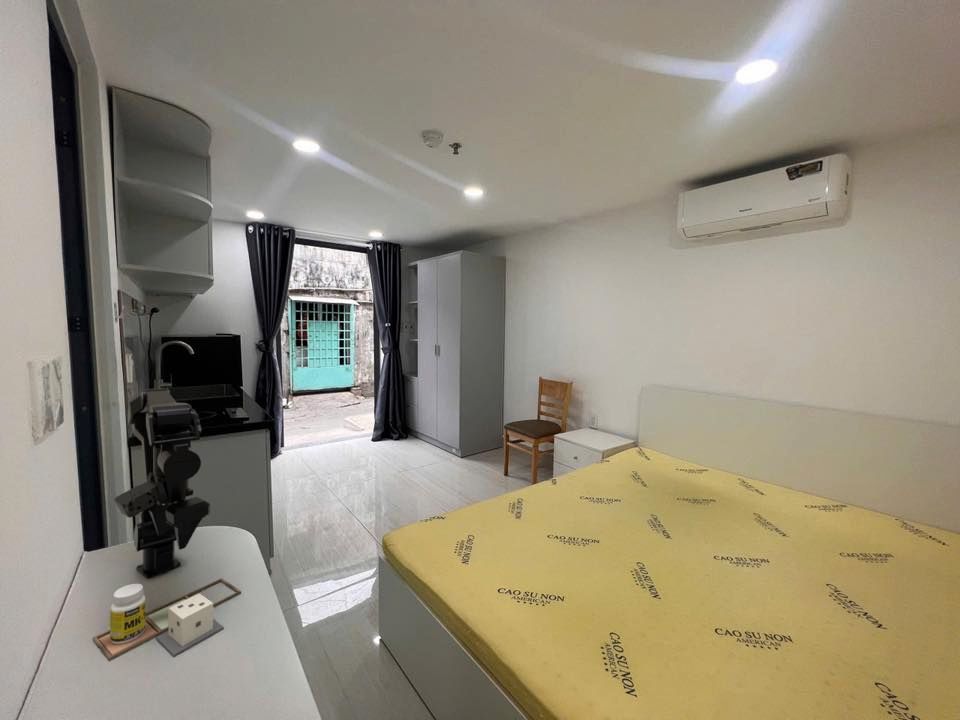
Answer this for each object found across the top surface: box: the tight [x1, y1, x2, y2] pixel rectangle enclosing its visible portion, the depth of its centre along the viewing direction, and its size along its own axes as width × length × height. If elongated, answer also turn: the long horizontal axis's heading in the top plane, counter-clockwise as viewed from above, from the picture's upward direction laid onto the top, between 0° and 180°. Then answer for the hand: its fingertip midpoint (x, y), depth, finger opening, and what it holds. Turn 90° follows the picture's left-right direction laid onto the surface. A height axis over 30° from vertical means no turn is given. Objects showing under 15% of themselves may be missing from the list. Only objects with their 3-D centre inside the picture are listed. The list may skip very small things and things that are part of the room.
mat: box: [155, 618, 225, 658], centre depth 74 cm, size 7×8×1 cm
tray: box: [92, 578, 242, 662], centre depth 78 cm, size 8×21×1 cm, turn 149°
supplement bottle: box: [109, 583, 147, 644], centre depth 72 cm, size 5×5×8 cm
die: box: [169, 593, 214, 646], centre depth 74 cm, size 5×5×5 cm
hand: (171, 541), depth 82 cm, fingers open, 9 cm apart
